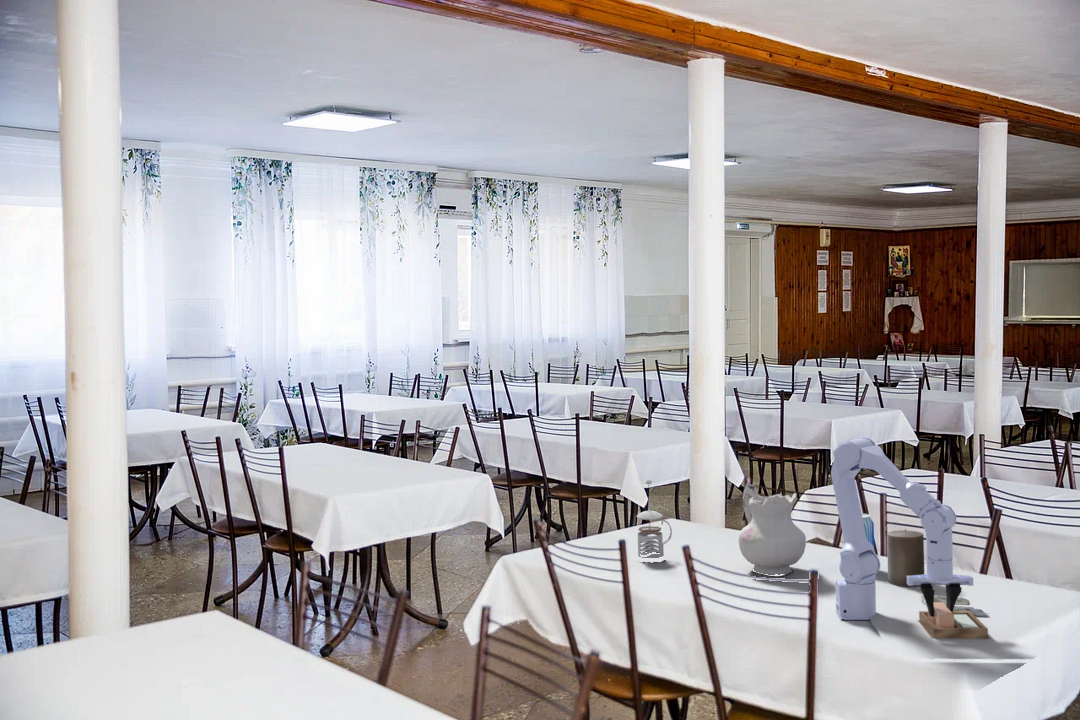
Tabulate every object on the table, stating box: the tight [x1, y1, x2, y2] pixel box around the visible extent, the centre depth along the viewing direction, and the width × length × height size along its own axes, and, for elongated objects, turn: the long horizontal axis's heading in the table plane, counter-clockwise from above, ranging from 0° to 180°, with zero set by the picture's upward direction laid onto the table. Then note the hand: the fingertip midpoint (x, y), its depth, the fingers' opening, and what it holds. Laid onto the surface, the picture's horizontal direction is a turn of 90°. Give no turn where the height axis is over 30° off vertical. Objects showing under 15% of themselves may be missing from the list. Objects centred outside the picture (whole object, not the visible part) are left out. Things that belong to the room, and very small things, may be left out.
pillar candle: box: [886, 528, 925, 587], centre depth 285 cm, size 10×10×15 cm
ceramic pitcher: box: [738, 483, 807, 575], centre depth 302 cm, size 22×20×25 cm
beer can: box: [861, 512, 875, 548], centre depth 300 cm, size 8×8×16 cm
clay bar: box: [928, 602, 954, 628], centre depth 240 cm, size 3×10×5 cm, turn 173°
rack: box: [917, 610, 991, 640], centre depth 240 cm, size 13×14×3 cm
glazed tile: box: [954, 614, 979, 628], centre depth 240 cm, size 3×10×2 cm, turn 173°
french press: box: [636, 479, 673, 558], centre depth 320 cm, size 10×12×25 cm
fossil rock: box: [920, 594, 990, 618], centre depth 258 cm, size 18×15×2 cm
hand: (940, 615), depth 241 cm, fingers closed on clay bar, 3 cm apart
